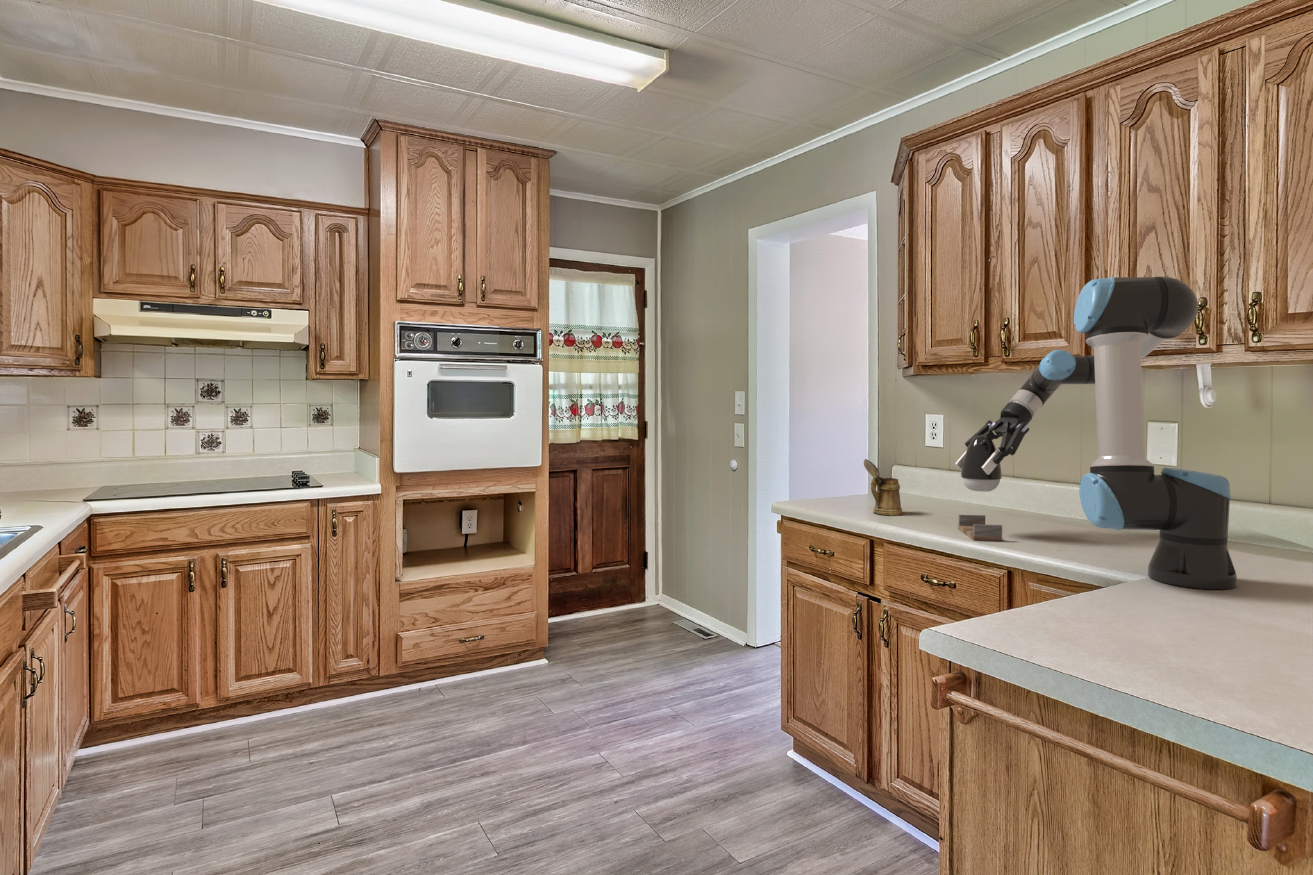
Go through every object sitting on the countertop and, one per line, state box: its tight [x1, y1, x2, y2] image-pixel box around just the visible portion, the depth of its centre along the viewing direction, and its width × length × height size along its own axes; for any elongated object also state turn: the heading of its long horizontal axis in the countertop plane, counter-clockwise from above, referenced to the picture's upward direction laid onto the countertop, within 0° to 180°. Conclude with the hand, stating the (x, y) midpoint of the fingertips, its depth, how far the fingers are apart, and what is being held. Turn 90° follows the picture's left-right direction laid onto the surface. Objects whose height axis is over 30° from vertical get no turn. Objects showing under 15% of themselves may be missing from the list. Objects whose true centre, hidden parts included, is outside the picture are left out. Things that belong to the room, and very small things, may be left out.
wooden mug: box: [863, 458, 904, 517], centre depth 240 cm, size 9×14×18 cm, turn 109°
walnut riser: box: [957, 514, 1003, 542], centre depth 206 cm, size 16×7×4 cm, turn 172°
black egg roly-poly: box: [960, 435, 1003, 492], centre depth 205 cm, size 10×10×15 cm
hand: (971, 469), depth 204 cm, fingers closed on black egg roly-poly, 10 cm apart
